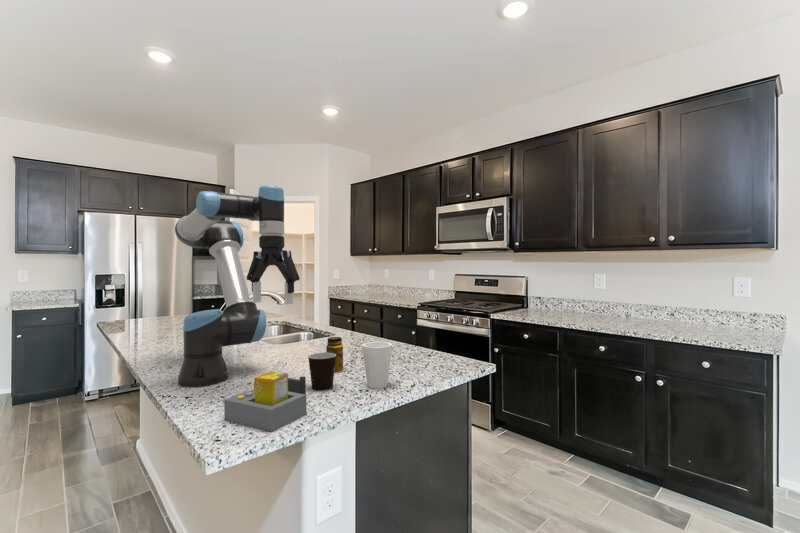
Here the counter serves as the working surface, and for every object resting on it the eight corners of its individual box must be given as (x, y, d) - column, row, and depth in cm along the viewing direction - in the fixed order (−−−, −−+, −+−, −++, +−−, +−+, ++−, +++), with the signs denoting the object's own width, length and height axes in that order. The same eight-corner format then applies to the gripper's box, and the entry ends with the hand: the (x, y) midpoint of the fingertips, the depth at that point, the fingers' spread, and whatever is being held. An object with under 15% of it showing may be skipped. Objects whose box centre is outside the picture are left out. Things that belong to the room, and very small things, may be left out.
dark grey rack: (254, 399, 112) (254, 381, 112) (280, 389, 121) (280, 372, 121) (280, 405, 107) (279, 386, 107) (305, 394, 116) (305, 376, 116)
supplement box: (269, 412, 102) (269, 370, 102) (289, 415, 100) (288, 372, 100) (254, 421, 96) (253, 376, 96) (274, 424, 94) (273, 379, 94)
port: (224, 419, 97) (224, 397, 97) (261, 404, 108) (261, 384, 108) (271, 431, 90) (271, 407, 90) (306, 414, 100) (306, 392, 100)
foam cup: (356, 385, 124) (356, 345, 124) (377, 379, 131) (377, 340, 131) (377, 391, 118) (376, 349, 118) (398, 384, 124) (397, 344, 124)
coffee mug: (330, 392, 118) (329, 359, 118) (303, 390, 119) (303, 358, 119) (343, 381, 129) (343, 351, 129) (319, 380, 131) (318, 350, 131)
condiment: (347, 370, 143) (347, 337, 143) (328, 375, 137) (328, 341, 137) (336, 366, 148) (336, 335, 148) (317, 371, 142) (316, 338, 142)
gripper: (234, 236, 125) (235, 302, 125) (293, 232, 113) (294, 305, 113) (253, 238, 131) (253, 300, 131) (310, 234, 120) (311, 303, 120)
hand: (272, 303), depth 122 cm, fingers open, 13 cm apart
